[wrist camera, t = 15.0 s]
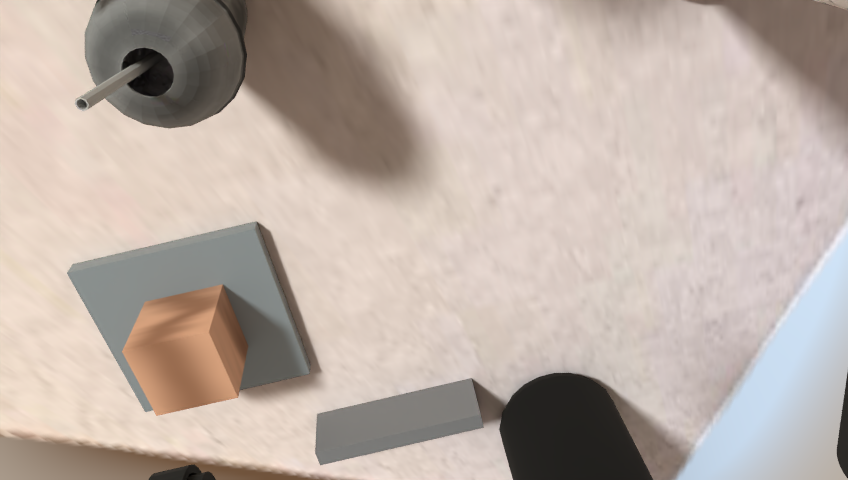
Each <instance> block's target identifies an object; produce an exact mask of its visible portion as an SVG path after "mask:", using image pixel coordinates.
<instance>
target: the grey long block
mask: <svg viewBox="0 0 848 480" xmlns="http://www.w3.org/2000/svg"><path fill="white" fill-rule="evenodd" d="M479 428H484V427H483V422H482V418H481V413H480V410H479V406H478V402H477V398H476V394H475V390H474V386H473V382H472V378H471V379H467V380H463V381H458V382H454V383H450V384H445V385H441V386H437V387H432V388H428V389H424V390H419V391H415V392H411V393H406V394H402V395H398V396H393V397H389V398H385V399H381V400H376V401H372V402H368V403H363V404H359V405H355V406H350V407H346V408H342V409H337V410H333V411H329V412H324V413H320V414H317V427H316V448H315V453H316V456H317V458H318V461H319V463H320V465H323V464H328V463H332V462H336V461H341V460H345V459H349V458H354V457H358V456H362V455H367V454H371V453H375V452H380V451H384V450H388V449H393V448H397V447H401V446H406V445H410V444H414V443H419V442H423V441H427V440H432V439H436V438H440V437H445V436H449V435H453V434H458V433H462V432H466V431H471V430H475V429H479Z"/></svg>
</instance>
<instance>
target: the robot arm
mask: <svg viewBox="0 0 848 480" xmlns="http://www.w3.org/2000/svg"><path fill="white" fill-rule="evenodd" d="M813 1H817V2H820V3H824V4H828V5H832V6H835V7H839V8H842V9H846V10H848V0H813ZM837 457H838V461H839V464H840V467H841V468H842V470H843V472H844V474H845V475H846V477H847V478H848V374H847V381H846V388H845V395H844V402H843V410H842V416H841V423H840V430H839V438H838V445H837ZM149 480H216V479H215V478H214V476H213V475H212V473H210V472H205V473H201V471H200V470H199V468H198V467H197V466H195V465H188V466H184V467H180V468H176V469H172V470H167V471H163V472H158V473H154V474H153V475H152V476H151V477H150V478H149Z"/></svg>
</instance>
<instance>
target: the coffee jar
mask: <svg viewBox="0 0 848 480" xmlns="http://www.w3.org/2000/svg"><path fill="white" fill-rule="evenodd" d="M500 434H501V438H502V442H503V445H504V449H505V452H506V456H507V459H508V463H509V467H510V470H511V474H512V477H513V480H653V479H652V477H651V475H650V473H649V471H648V469H647V467H646V465H645V463H644V461H643V459H642V457H641V455H640V453H639V451H638V449H637V447H636V445H635V443H634V441H633V439H632V437H631V436H630V434H629V432H628V430H627V428H626V426H625V424H624V422H623V420H622V418H621V416H620V414H619V412H618V410H617V408H616V406H615V404H614V402H613V400H612V399H611V397H610V396H609V394H608V393H607V391H606V389H604V388H603V387H601V386H600V385H598V384H597V383H595V382H594V381H593V380H591V379H589V378H585V377H583V376H579V375H576V374H572V373H553V374H549V375H545V376H541V377H538V378H536V379H534V380H532V381H530V382H529V383H527V384H525V385H523V386H522V387H521V388H520V389H519V390H518V391H517V392H516V393H515V394H514V395H513V396H512V397H511V399H510V401H509V402H508V404H507V406H506V408H505V409H504V411H503V413H502V418H501V424H500Z"/></svg>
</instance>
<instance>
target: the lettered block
mask: <svg viewBox="0 0 848 480" xmlns="http://www.w3.org/2000/svg"><path fill="white" fill-rule="evenodd" d="M247 350H248V344H247V342H246V339H245V337H244V334H243V332H242V330H241V327H240V325H239V322H238V320H237V318H236V315H235V313H234V310H233V308H232V306H231V303H230V301H229V298H228V296H227V294H226V291H225V289H224V286H223V284H222V285H218V286H213V287H209V288H204V289H200V290H195V291H191V292H186V293H182V294H177V295H173V296H168V297H164V298H160V299H155V300H151V301H146V302H145V303H144V305H143V307H142V309H141V311H140V314H139V316H138V318H137V320H136V322H135V324H134V327H133V329H132V331H131V333H130V335H129V337H128V340H127V342H126V344H125V346H124V348H123V351H122V353H123V355H124V356H125V358H126V360H127V362H128V364H129V366H130V368H131V369H132V371H133V373H134V375H135V377H136V379H137V381H138V382H139V384H140V386H141V388H142V390H143V392H144V393H145V395H146V397H147V399H148V401H149V403H150V405H151V406H152V408H153V410H154V412H155V414H156V416H158V415H162V414H167V413H171V412H176V411H180V410H185V409H189V408H193V407H198V406H202V405H207V404H211V403H216V402H220V401H225V400H229V399H234V398H238V395H239V390H240V385H241V380H242V375H243V370H244V365H245V360H246V355H247Z"/></svg>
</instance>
